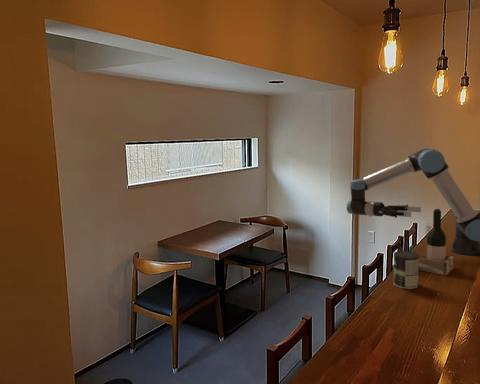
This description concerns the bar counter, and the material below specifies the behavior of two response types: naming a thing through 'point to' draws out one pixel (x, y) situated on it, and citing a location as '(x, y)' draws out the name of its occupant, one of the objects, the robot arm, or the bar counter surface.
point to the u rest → (437, 265)
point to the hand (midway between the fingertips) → (416, 211)
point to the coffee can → (406, 269)
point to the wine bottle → (436, 239)
